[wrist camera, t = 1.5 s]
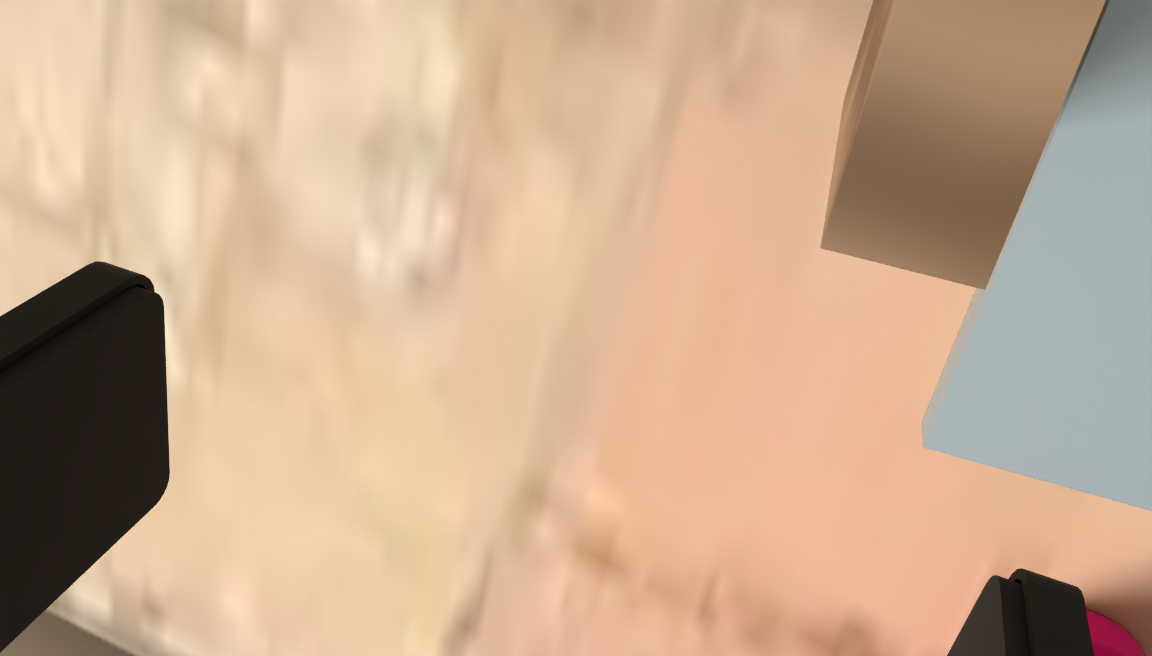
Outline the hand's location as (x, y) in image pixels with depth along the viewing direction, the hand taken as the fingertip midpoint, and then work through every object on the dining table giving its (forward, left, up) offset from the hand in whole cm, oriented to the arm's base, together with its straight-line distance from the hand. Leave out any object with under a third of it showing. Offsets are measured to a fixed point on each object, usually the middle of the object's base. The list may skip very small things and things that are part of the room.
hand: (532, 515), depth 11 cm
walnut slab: (-2, +5, -24) cm, 24 cm away
